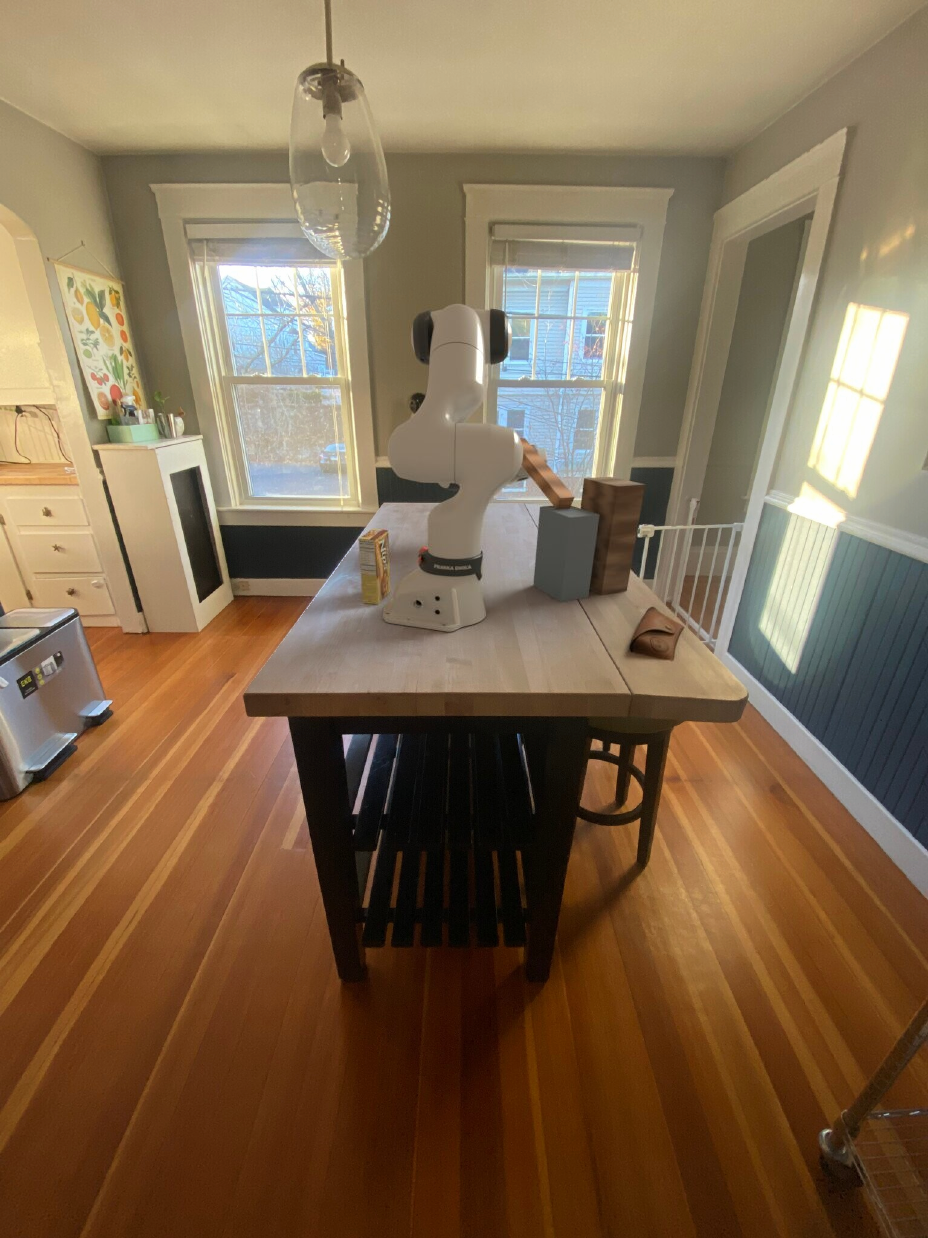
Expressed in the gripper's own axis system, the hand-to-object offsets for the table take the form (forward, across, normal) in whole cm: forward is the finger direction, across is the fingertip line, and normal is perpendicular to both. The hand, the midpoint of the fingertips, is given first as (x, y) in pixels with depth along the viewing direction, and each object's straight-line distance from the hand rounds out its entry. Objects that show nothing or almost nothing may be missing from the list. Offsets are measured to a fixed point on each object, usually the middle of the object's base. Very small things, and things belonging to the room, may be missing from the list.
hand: (525, 447), depth 123 cm
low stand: (+2, 0, +38) cm, 38 cm away
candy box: (-10, -43, +32) cm, 54 cm away
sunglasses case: (+27, +3, +53) cm, 60 cm away
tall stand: (+2, +12, +38) cm, 40 cm away
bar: (+3, 0, +9) cm, 9 cm away
